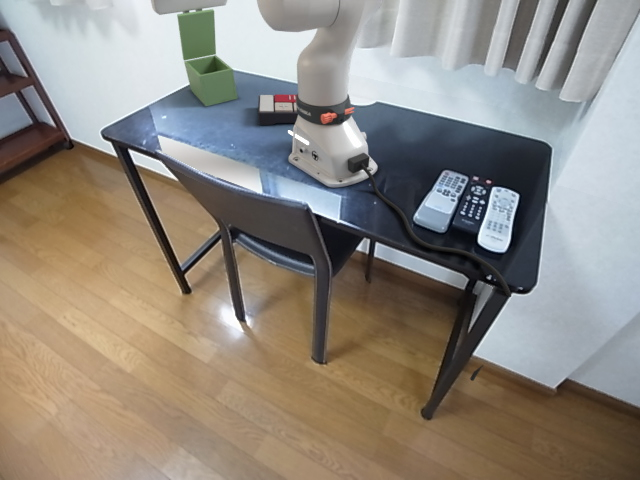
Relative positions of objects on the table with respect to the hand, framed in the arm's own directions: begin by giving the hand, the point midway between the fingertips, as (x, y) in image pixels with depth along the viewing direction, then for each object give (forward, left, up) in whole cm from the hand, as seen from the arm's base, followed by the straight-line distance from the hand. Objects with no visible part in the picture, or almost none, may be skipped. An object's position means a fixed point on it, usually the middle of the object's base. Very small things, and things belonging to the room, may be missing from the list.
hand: (195, 27), depth 106 cm
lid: (-1, 0, -2) cm, 2 cm away
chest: (-4, 0, -18) cm, 18 cm away
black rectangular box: (-29, -12, -18) cm, 36 cm away
